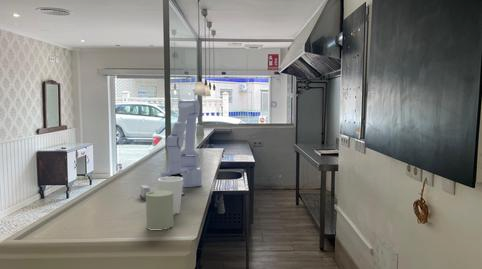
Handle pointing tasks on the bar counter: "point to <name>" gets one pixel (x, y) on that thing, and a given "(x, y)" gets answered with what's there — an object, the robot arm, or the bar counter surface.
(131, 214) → the bar counter surface
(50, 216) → the bar counter surface
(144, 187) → the plate
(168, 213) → the can
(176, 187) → the foam cup
